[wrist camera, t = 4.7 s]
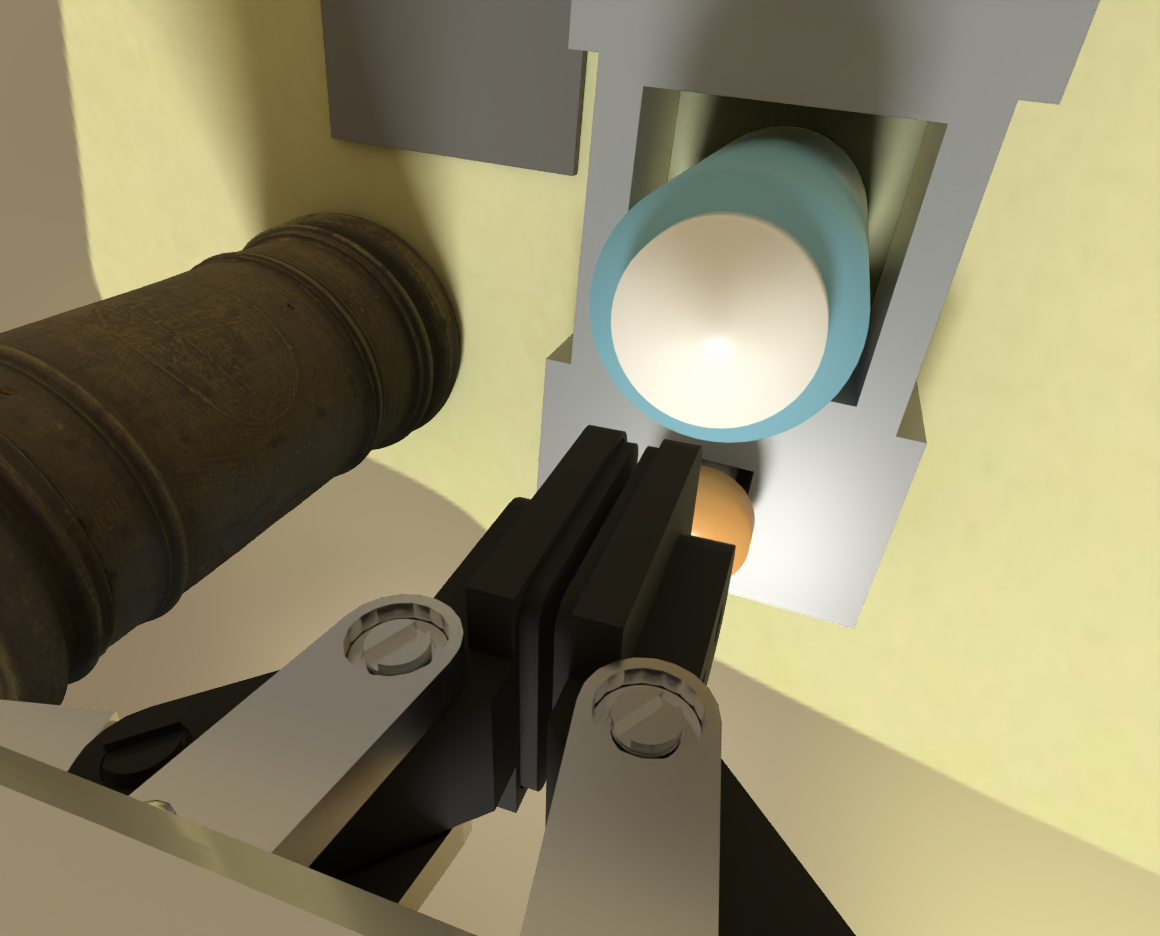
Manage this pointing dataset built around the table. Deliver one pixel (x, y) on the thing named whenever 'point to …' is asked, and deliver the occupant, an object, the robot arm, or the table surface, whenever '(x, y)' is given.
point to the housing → (914, 262)
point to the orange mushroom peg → (723, 510)
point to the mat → (457, 79)
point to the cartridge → (739, 288)
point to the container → (197, 426)
